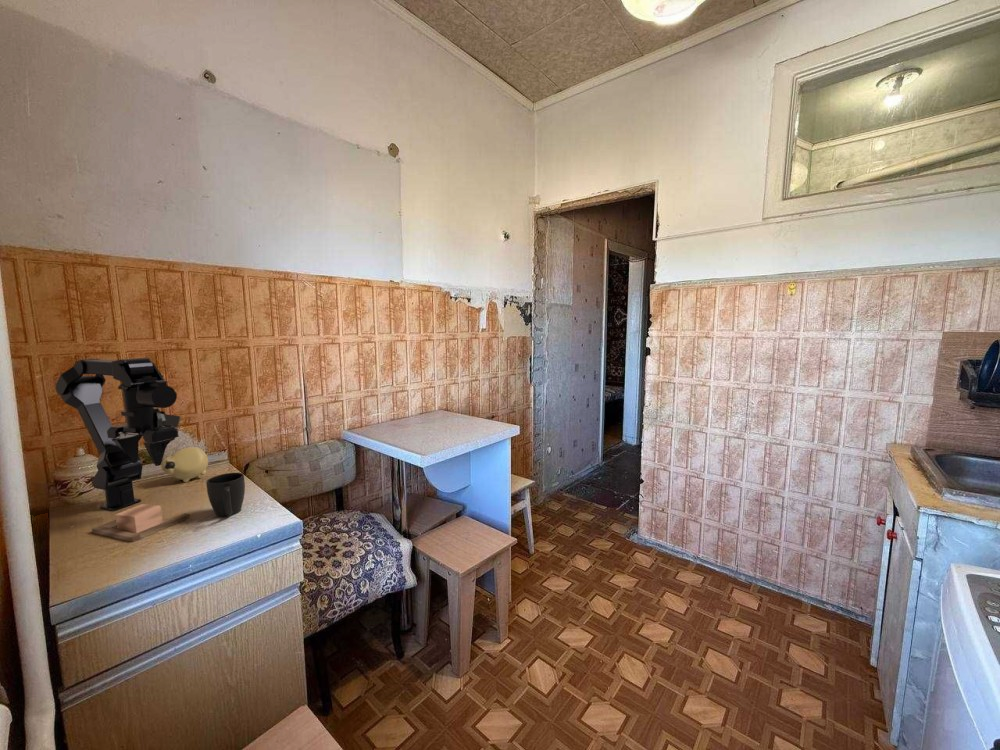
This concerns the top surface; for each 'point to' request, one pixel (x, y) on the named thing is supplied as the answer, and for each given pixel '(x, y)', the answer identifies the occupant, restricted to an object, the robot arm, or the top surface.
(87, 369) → the robot arm
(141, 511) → the terracotta block
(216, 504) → the mug
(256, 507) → the top surface
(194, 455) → the toy pig
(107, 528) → the walnut bay
